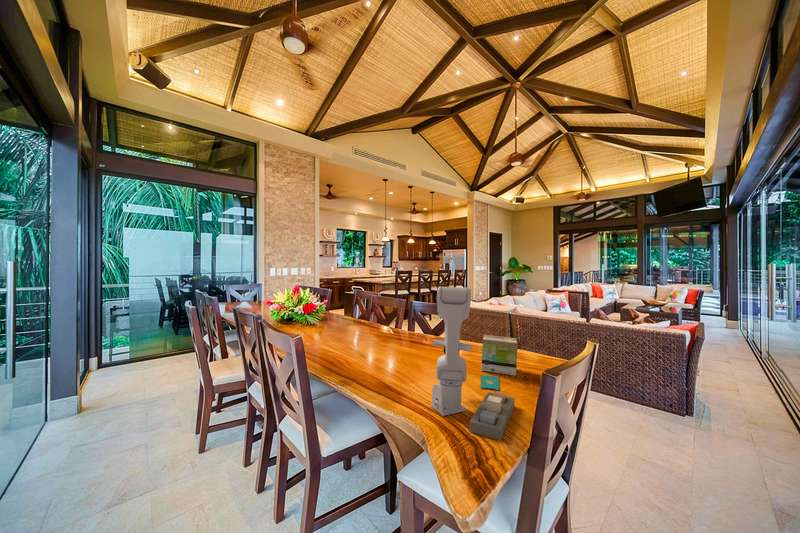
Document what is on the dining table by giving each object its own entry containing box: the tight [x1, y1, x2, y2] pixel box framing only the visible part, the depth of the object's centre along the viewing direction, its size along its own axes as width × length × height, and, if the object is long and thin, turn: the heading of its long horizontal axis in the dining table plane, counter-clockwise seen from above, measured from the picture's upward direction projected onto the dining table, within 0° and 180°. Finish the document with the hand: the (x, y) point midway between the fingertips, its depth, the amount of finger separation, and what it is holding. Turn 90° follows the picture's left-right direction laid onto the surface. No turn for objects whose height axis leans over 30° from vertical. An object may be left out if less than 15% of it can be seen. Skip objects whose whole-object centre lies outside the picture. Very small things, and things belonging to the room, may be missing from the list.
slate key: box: [480, 410, 497, 426], centre depth 95 cm, size 4×4×4 cm
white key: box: [486, 395, 502, 414], centre depth 102 cm, size 4×4×4 cm
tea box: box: [480, 334, 518, 376], centre depth 146 cm, size 15×10×15 cm
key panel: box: [468, 391, 516, 441], centre depth 102 cm, size 24×9×3 cm, turn 152°
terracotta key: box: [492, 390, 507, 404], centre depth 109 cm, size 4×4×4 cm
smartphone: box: [480, 374, 501, 392], centre depth 131 cm, size 7×1×15 cm
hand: (451, 367), depth 121 cm, fingers closed
